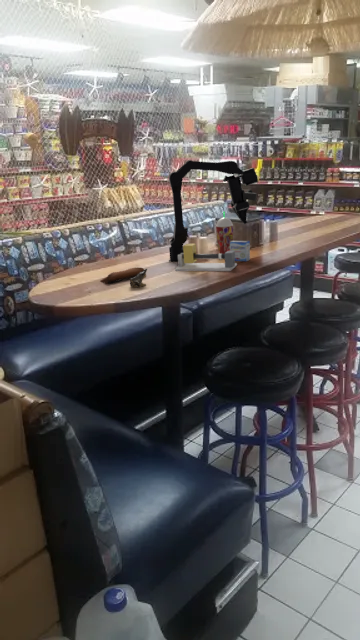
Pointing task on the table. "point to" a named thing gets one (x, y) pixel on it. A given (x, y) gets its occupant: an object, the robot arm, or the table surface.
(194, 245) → the sleeve
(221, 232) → the smoothie
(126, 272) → the sweet potato
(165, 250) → the table surface
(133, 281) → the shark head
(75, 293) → the table surface
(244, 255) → the medicine box
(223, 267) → the cord rig
